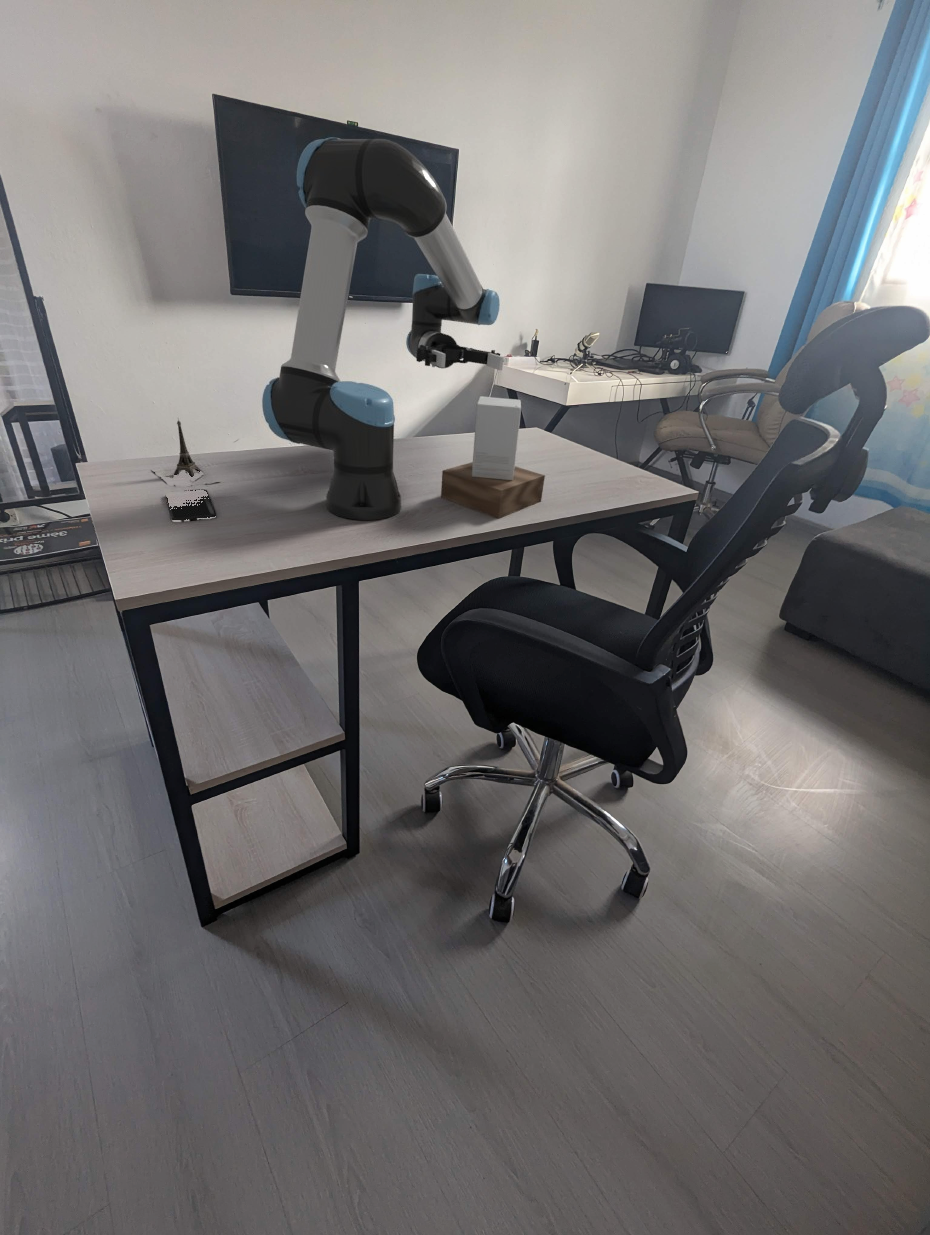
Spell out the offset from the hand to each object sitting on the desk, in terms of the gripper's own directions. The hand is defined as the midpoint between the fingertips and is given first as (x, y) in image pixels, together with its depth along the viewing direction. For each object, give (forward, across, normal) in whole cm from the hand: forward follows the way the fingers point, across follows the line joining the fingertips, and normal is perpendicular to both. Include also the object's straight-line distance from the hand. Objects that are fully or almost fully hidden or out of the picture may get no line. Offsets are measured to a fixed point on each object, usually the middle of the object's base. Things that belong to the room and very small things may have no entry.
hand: (473, 362), depth 126 cm
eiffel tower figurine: (-14, +60, -28) cm, 68 cm away
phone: (+4, +59, -28) cm, 66 cm away
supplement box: (+12, -2, -21) cm, 24 cm away
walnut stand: (+12, -2, -27) cm, 29 cm away
